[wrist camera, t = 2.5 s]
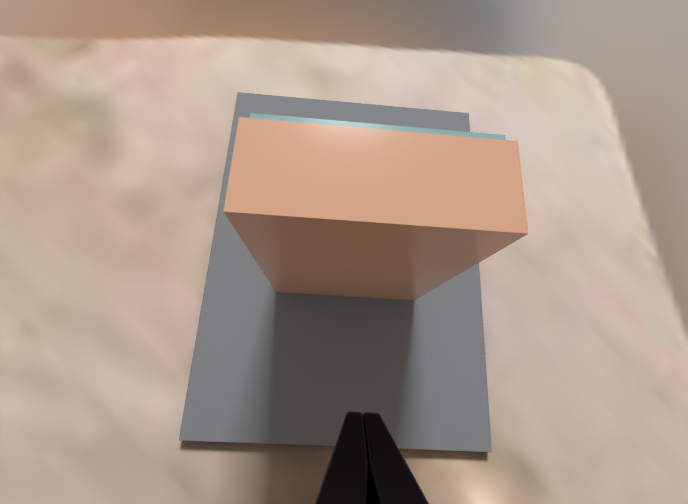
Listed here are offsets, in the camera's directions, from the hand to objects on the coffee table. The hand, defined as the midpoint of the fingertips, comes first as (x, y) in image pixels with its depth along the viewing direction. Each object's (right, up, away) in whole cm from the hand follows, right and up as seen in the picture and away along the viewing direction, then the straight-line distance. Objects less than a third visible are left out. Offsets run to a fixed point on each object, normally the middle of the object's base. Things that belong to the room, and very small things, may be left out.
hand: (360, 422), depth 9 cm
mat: (0, +4, +10) cm, 11 cm away
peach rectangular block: (0, +3, +9) cm, 9 cm away
